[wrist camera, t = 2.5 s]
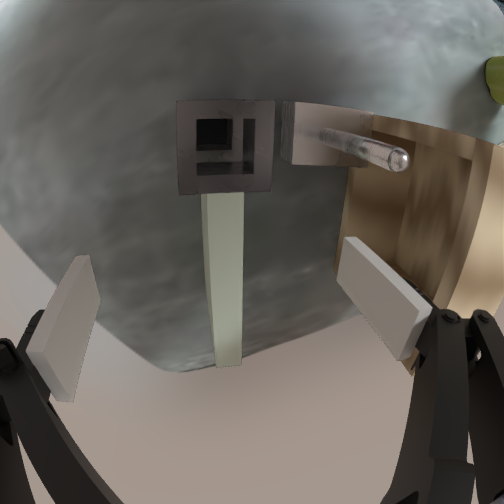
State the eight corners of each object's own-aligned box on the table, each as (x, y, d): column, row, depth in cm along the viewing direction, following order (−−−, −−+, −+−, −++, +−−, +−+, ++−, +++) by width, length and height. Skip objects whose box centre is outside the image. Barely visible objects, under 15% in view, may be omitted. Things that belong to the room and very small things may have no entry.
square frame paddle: (183, 103, 19) (176, 101, 10) (238, 102, 20) (275, 100, 11) (191, 282, 26) (197, 369, 17) (236, 278, 27) (260, 362, 18)
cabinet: (282, 101, 20) (401, 110, 8) (419, 122, 23) (544, 162, 11) (272, 275, 27) (330, 402, 15) (392, 263, 30) (475, 348, 18)
